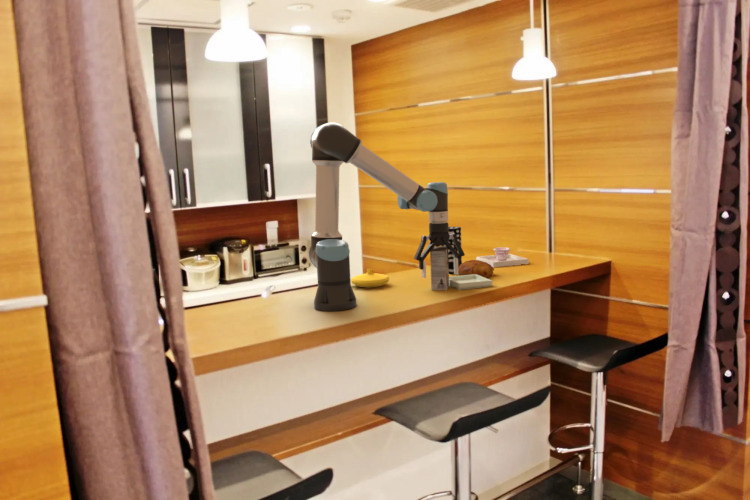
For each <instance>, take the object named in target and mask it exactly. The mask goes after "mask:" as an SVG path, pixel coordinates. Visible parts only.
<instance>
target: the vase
mask: <svg viewBox="0 0 750 500" xmlns="http://www.w3.org/2000/svg"><path fill="white" fill-rule="evenodd" d="M350 281H351V284H353V285H355V286H357V287H360V288H377V287H382V286H384V285H385V284H387V283H388V282H389V281H390V277H389V276H388V275H386V274H383V273H375V272H373V268H367V269H366V273H361V274H358V275H357V274H356V275H354V276H353V277H352V278H350Z"/></svg>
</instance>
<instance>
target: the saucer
mask: <svg viewBox="0 0 750 500" xmlns="http://www.w3.org/2000/svg"><path fill="white" fill-rule="evenodd" d="M507 256H508V258H510V259H514V260H508V261H498V262H493V261H490V260H491V259H496V254H495V255H493V254H491V255H482V256H476V259H475V260H479V261H483V262H486V263H488V264H490V265H491V266H492V267H493V268H501V267H513V265H514V266H521V264H525V265H529V263H530V262H529V261H530V259H529V258H526V257H524V256H520V255H515V254H512V253H508V255H507Z"/></svg>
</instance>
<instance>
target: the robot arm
mask: <svg viewBox="0 0 750 500" xmlns="http://www.w3.org/2000/svg"><path fill="white" fill-rule="evenodd" d="M309 143H310V148H311V162H312V163H313V164H314V165H315V218H314V219H315V220H314V223H315V224H314V225H315V226H314V229H315V230H314V231H313V233H312V234H311V236H310V247H309V250H308V256H309V260H310V262H311V264H312V265H313V266H314V267H315V268H316V274H317V288H316V293H315V296H314V300H313V306H314V309H315V310H318V311H322V312H323V311H324V312H339V311H345V310H350V309H353V308H355V307H356V306H357V297H356V295H355V292H354V289H353V286H352V281H351V265H350V261H351V260H350V253H351V252H350V247H349V245H350V244H348V242H347V241H346V240H343V234H342V233H340V231H339V214H340V213H339V210H340V208H339V206H340V204H339V203H340V167H341V165H342V164H344V163H345V164H352V165H353V166H354V167H355V168H357V169H358V170H360V171H361V172H363V173H364V174H366V175H367V176H369V177H371V178H372V179H374V180H375V181H376V182H378V183H379V184H381V185H383V186H384V187H385V188H387V189H388V190H389V191H391V192H393V193H394V194H395V195H397V197H396V198H397V205H398V208H399V209H401V210H411V209H412V210H417V211H421V212H428V222H429V223H428V231H429V233H428V234H429V235H424V234H423V235H421V240H420V243H419V245H418V248H417V250H416V253H415V255H414V257H413V258H414V260H416V261H418V267H419V268H418V269H420V270H421V278H423V279H427V268H426V267H427V266H426V265H427V263H426V261H425V259H426V258H427V256H428V255H429V254H430V250H431V249H432V248H433V247H434V246H444V245H445V246H447V247H448V249H449V250H450V251H451V252H452V253H453V254H454V256H455V257H456V258H454V274H453V275H455V276H459V274H458V266H460V258H461V257H464V256H465V255H466V254H465V252H464V250H463V248H462V245H461V246H460V244H459V242H458V240H457V235H456V234H455V233H452V234H449V233H448V232H449V227H450V226H449V222H448V221H449V208H448V207H449V204H448V202H449V197H448V196H449V193H448V191H449V190H448V184H447V183H446V182H443V181H437V182H436V181H435V182H428V184H427V187H423V186H422V185H421V184H419V183H418V182H416V181H415V180H414V179H412V178H410V177H409V176H408V175H406V174H405V173H403V172H402V171H401V170H399V169H397V168H396V167H395V166H394V165H392V164H391V163H390V162H387V161H386V160H385V159H383V158H382V157H380V156H379V155H377V153H375V152H374V151H372V150H370V149H369V148H368V147H366V146H365V145H363V142H362V139H360V138H358V137H357V136H356V135H354V134H353V133H352V132H351V131H350V130H349V129H347V128H345V127H344V125H342V124H340V123H337V122H326V123H324V124H321V125H319V126H317V127H315V129H314V130H313V132H312V133H311V136H310V140H309ZM449 238H451V239H452V241H453V243H454V245H455V247H456V249H457V250H458V252H459V254H458V252H457V251H456V250H455V249H454V248H453V247H452V246H451V244H450V243H449V242H448V239H449ZM428 241H429V242H428ZM427 242H428V245H427V247H425V246H426V244H427Z"/></svg>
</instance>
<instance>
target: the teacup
mask: <svg viewBox="0 0 750 500" xmlns="http://www.w3.org/2000/svg"><path fill="white" fill-rule="evenodd" d="M510 250H511V248H510V247H504V246H503V247H502V246H501V247H500V246H499V247H493V251H494V253H495V255H496V259H491V260H490V261H493V262H498V261H508V260H514V259H510V258H508V256H507V255H508V254H509V252H510Z"/></svg>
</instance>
